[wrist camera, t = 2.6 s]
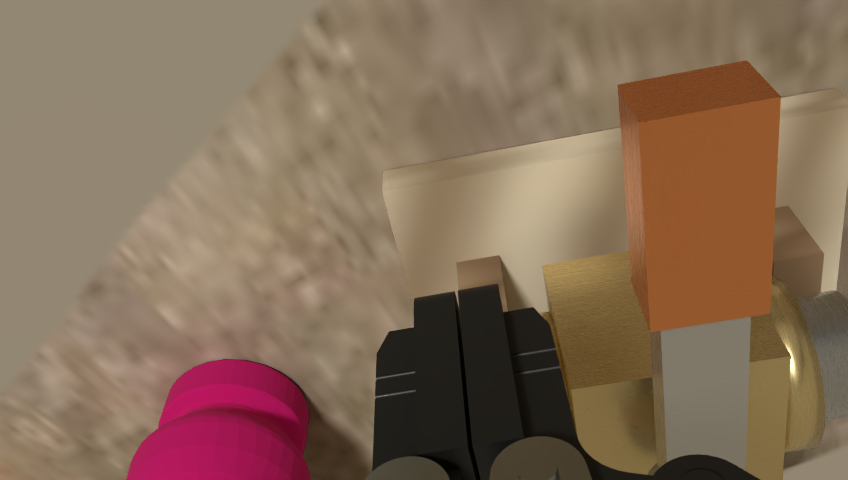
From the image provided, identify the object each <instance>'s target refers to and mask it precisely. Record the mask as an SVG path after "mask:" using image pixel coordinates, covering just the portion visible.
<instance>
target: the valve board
mask: <svg viewBox="0 0 848 480" xmlns="http://www.w3.org/2000/svg"><path fill="white" fill-rule="evenodd" d="M847 184H848V99H847V98H846V97H845V96H844V95H843V94H842V93H841V92H840V91H838V90H837V89H836V88H833V89H828V90H823V91H817V92H812V93H806V94H801V95H795V96H790V97H784V98H781V105H780V125H779V145H778V165H777V185H776V205H775V225H774V245H773V265H772V275H774V276H776V277H778V278H779V279H781V280H782V281H783V282H784V283H785V284H786V285H787V286H788V288H789V289H790V291H791V292H792V294H793V295H794V296H799V295H806V294H812V293H818V292H824V291H831V290H834V291H836V287H837V278H838V268H839V259H840V249H841V240H842V231H843V221H844V212H845V203H846V193H847ZM382 193H383V196H384V200H385V204H386V208H387V211H388V215H389V219H390V223H391V227H392V230H393V234H394V238H395V242H396V245H397V249H398V253H399V257H400V261H401V264H402V268H403V272H404V276H405V280H406V283H407V287H408V291H409V295H410V298H411V302H412V306H413V310H414V298H417V297H423V296H429V295H435V294H441V293H446V292H452V291H455V294H456V297H457V301H458V290H463V289H468V288H474V287H480V286H486V285H492V284H497V283H498V285H499V291H500V296H501V301H502V307H503V312H507V311H513V310H519V309H524V308H530V307H534V308H535V309H536V310H537V311H538V313H541V312H547V311H549V310H548V303H547V296H546V289H545V282H544V276H543V269H542V265H546V264H551V263H557V262H563V261H569V260H575V259H581V258H587V257H593V256H599V255H605V254H611V253H617V252H623V251H629V239H628V225H627V211H626V197H625V183H624V168H623V154H622V140H621V128H616V129H610V130H605V131H599V132H594V133H588V134H583V135H577V136H572V137H567V138H561V139H556V140H550V141H545V142H539V143H534V144H528V145H523V146H517V147H512V148H507V149H501V150H496V151H490V152H485V153H479V154H474V155H468V156H463V157H458V158H452V159H447V160H441V161H436V162H430V163H425V164H419V165H414V166H409V167H403V168H398V169H392V170H387V171H383V189H382ZM458 306H459V301H458Z"/></svg>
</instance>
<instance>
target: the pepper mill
mask: <svg viewBox="0 0 848 480" xmlns="http://www.w3.org/2000/svg"><path fill="white" fill-rule="evenodd" d="M308 423H309V410H308V405H307V403H306V400H305V398H304V396H303V395H302V393H301V391H300V390H299V389H298V387H297V386H296V385H295V384H294V383H293V382H291V381H290V380H289V379H288V378H287V377H286V376H285V375H283V374H282V373H280V372H278V371H276V370H274V369H272V368H270V367H268V366H266V365H263V364H259V363H255V362H251V361H247V360H232V359H223V360H217V361H211V362H207V363H204V364H202V365H199V366H196V367H194V368H192V369H190V370H189V371H187V372H186V373H184V374H183V375H182V376H181V377H179V378H178V379H177V380H176V382H175V383H174V384H173V386H172V388H171V389H170V392H169V395H168V397H167V400H166V403H165V406H164V409H163V412H162V415H161V418H160V421H159V428H158V429H157V430H155V431H154V432H153V433H152V434H150V435H149V436H148V437H147V438H146V439H145V440H144V441H143V442H142V443H141V445H140V446H139V448H138V450H137V451H136V453H135V455H134V457H133V459H132V461H131V465H130V468H129V472H128V476H127V479H126V480H311V479H310V472H309V469H308V467H307V464H306V462H305V460H304V458H303V456H302V455H303V452H304V448H305V444H306V437H307V430H308Z"/></svg>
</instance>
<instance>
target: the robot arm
mask: <svg viewBox="0 0 848 480" xmlns="http://www.w3.org/2000/svg"><path fill="white" fill-rule="evenodd" d="M458 301H459V306H458ZM458 301H457V297H456V294H455V291H452V292H446V293H441V294H435V295H429V296H423V297H417V298H414V327H413V328H407V329H402V330H396V331H390V332H389V333H388V335H387V336H386V338H385V340H384V342H383V344H382V345H381V347H380V349H379V351H378V352H377V362H376V379H377V381H376V389H375V396H376V399H375V416H374V443H373V467H372V472H371V473H370V474H369V475H368V477H367V478H366V479H365V480H760V479H759V478H757V477H755V476H753V475H752V474H750V473H748V472H747V471H745V470H743V469H741V468H740V467H738V466H736V465H735V464H733V463H731V462H729V461H727V460H724V459H721V458H718V457H715V456H710V455H700V454H695V455H686V456H681V457H678V458H675V459H672V460H670V461H669V462H667V463H665V464H664V465H662V466H661V467H660V468H659V469H658V470H657V471H656V472H655V474H654V475H645V474H637V473H630V472H624V471H619V470H616V469H612V468H610V467H607V466H605V465H603V464H601V463H599V462H598V461H596V460H595V459H593V458H592V457H591V456H590V455H589V454H588V453H587V452H586V451H585V450H584V449H583V447H582V446H581V444H580V442H579V440H578V437H577V434H576V430H575V426H574V422H573V418H572V414H571V409H570V405H569V401H568V397H567V393H566V389H565V385H564V380H563V376H562V372H561V369H560V364H559V360H558V356H557V351H556V348H555V343H554V339H553V335H552V331H551V327H550V324H549V323H548V322H547V321H546V320H545V319H544V318H543V317H542V316H541V315H540V314H539V313H538V311H537V310H536V309H535V308H534V307H530V308H524V309H519V310H513V311H507V312H503V307H502V301H501V296H500V291H499V285H498V283H497V284H492V285H486V286H480V287H474V288H468V289H463V290H458Z"/></svg>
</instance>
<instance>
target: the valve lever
mask: <svg viewBox="0 0 848 480" xmlns="http://www.w3.org/2000/svg"><path fill="white" fill-rule="evenodd" d="M618 97H619V112H620V126H621V140H622V154H623V168H624V183H625V197H626V211H627V225H628V239H629V254H630V268H631V282H632V286H633V289H634V291H635V294H636V297H637V299H638V302H639V304H640V307H641V310H642V312H643V315H644V318H645V320H646V323H647V325H648V328H649V331H650V346H651V363H652V381H653V398H654V416H655V433H656V451H657V463H656V464H655V465H654V466H653V467H652V468H651V469H650V470H649V472H648V474H647V475H654V474H655V472H656V471H657V470H658V469H659V468H660V467H661V466H662V465H664V464H665V463H667V462H669V461H670V460H672V459H675V458H678V457H681V456H686V455H695V454H700V455H710V456H715V457H718V458H721V459H724V460H727V461H729V462H731V463H733V464H735V465H736V466H738V467H740V468H741V469H743V470H745V471H746V449H747V419H748V389H749V359H750V329H751V316H758V315H764V314H770V304H771V285H772V265H773V245H774V225H775V205H776V185H777V165H778V145H779V125H780V105H781V96H780V95H779V94H778V93H777V92H776V91H775V90H774V89H773V88H772V87H771V86H770V85H769V83H768V82H767V81H766V80H765V79H764V78H763V77H762V76H761V75H760V74H759V73H758V72H757V71H756V70H755V69H754V68H753V66H752V65H751V64H750V63H749V62H748V61H741V62H736V63H731V64H725V65H720V66H715V67H710V68H704V69H699V70H694V71H688V72H683V73H678V74H672V75H667V76H662V77H657V78H651V79H646V80H641V81H635V82H630V83H625V84H619V85H618Z"/></svg>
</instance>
